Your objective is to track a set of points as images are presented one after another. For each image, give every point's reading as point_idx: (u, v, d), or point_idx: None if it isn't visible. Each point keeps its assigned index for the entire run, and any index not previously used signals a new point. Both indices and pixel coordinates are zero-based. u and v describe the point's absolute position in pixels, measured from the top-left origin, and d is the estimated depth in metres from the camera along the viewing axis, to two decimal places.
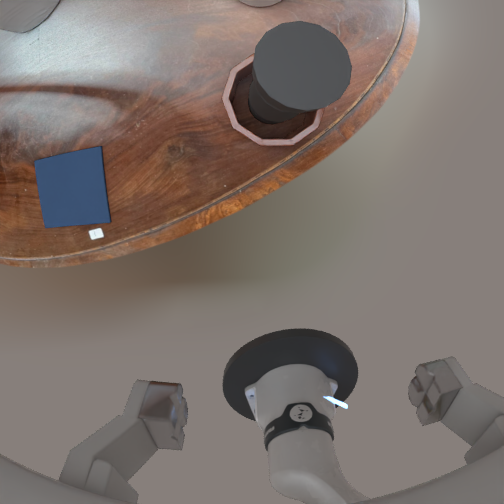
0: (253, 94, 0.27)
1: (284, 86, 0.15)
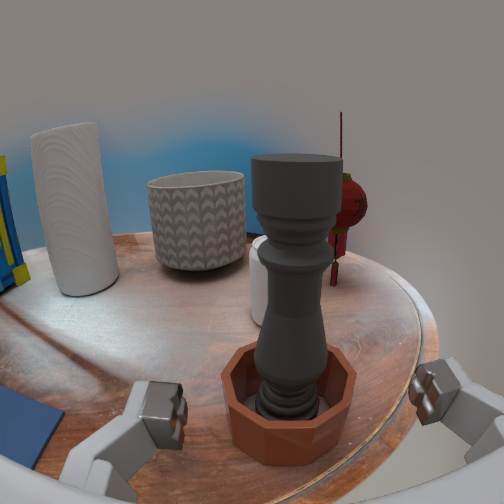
0: (259, 337, 0.23)
1: (279, 159, 0.16)
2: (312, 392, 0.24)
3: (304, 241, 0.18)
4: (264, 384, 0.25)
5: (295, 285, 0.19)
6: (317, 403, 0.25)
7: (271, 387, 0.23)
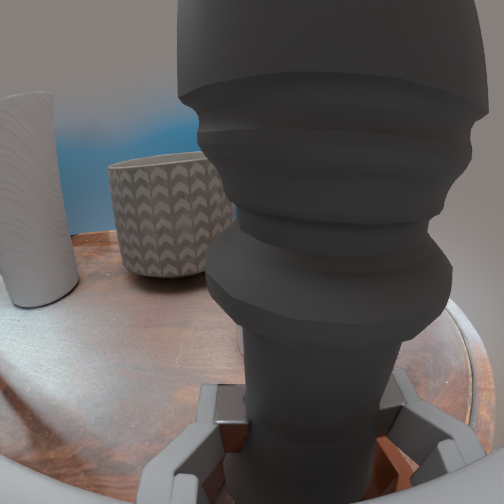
0: None
1: None
2: None
3: (390, 210, 0.04)
4: None
5: (334, 376, 0.05)
6: None
7: None
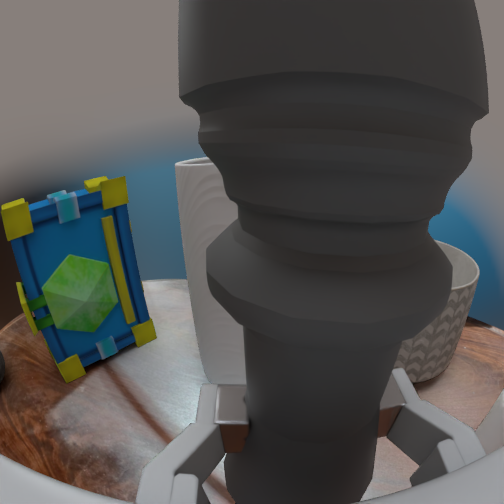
0: None
1: None
2: None
3: (391, 210, 0.04)
4: None
5: (335, 374, 0.05)
6: None
7: None
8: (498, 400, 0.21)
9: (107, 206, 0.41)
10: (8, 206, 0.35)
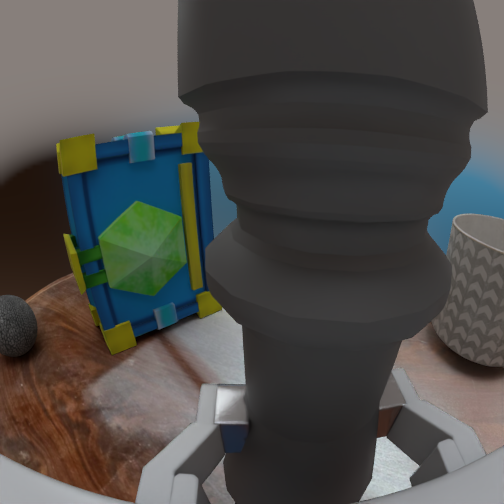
0: None
1: None
2: None
3: (389, 209, 0.04)
4: None
5: (334, 374, 0.05)
6: None
7: None
8: None
9: (187, 151, 0.38)
10: None
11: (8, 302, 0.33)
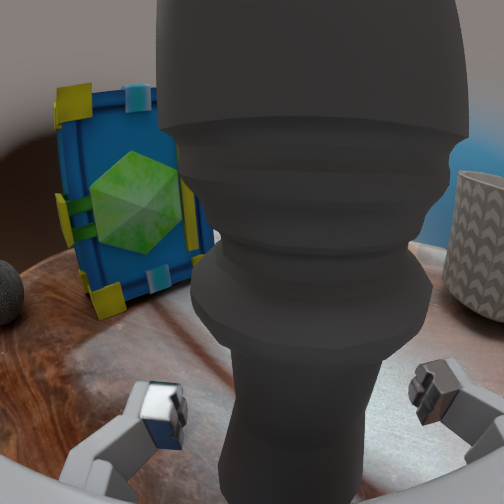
0: (223, 449, 0.09)
1: None
2: None
3: (360, 242, 0.04)
4: None
5: (313, 390, 0.05)
6: None
7: None
8: None
9: None
10: None
11: None
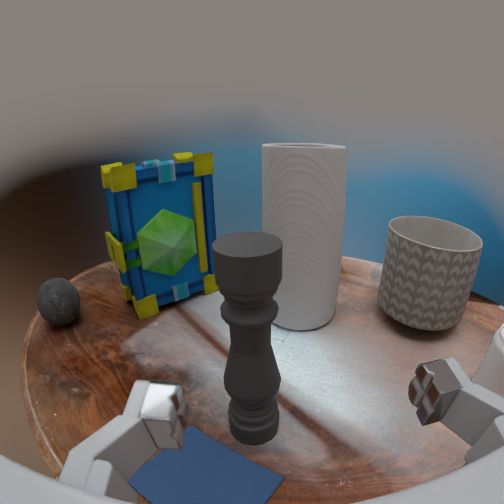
0: (226, 366, 0.29)
1: (230, 249, 0.23)
2: (271, 407, 0.31)
3: (251, 307, 0.24)
4: None
5: (247, 335, 0.26)
6: (276, 415, 0.32)
7: (237, 402, 0.30)
8: (492, 339, 0.30)
9: (197, 174, 0.56)
10: (107, 167, 0.51)
11: (60, 282, 0.51)
